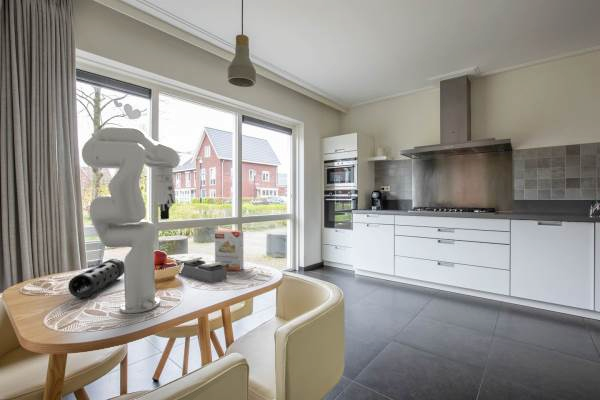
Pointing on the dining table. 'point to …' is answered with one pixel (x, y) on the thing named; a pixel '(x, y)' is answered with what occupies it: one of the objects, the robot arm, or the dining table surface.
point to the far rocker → (194, 260)
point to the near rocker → (210, 264)
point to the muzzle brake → (96, 278)
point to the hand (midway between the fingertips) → (164, 218)
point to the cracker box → (229, 249)
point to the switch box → (203, 271)
